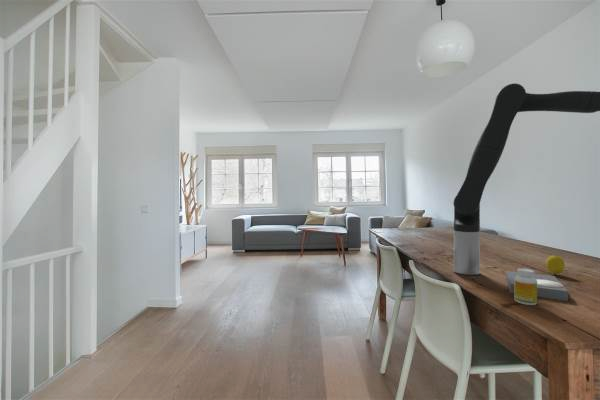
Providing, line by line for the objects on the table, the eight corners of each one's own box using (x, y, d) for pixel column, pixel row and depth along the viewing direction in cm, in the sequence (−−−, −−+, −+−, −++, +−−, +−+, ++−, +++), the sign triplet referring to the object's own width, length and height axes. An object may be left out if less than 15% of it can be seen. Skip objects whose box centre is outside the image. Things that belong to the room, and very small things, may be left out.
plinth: (510, 293, 94) (510, 283, 94) (505, 278, 109) (505, 270, 109) (568, 301, 87) (568, 290, 87) (554, 284, 102) (554, 275, 102)
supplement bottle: (538, 307, 83) (538, 273, 82) (515, 303, 86) (515, 271, 85) (535, 300, 87) (535, 269, 87) (513, 297, 90) (513, 266, 90)
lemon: (568, 277, 110) (568, 256, 110) (551, 276, 111) (551, 256, 111) (558, 273, 115) (558, 253, 115) (542, 272, 116) (542, 253, 116)
